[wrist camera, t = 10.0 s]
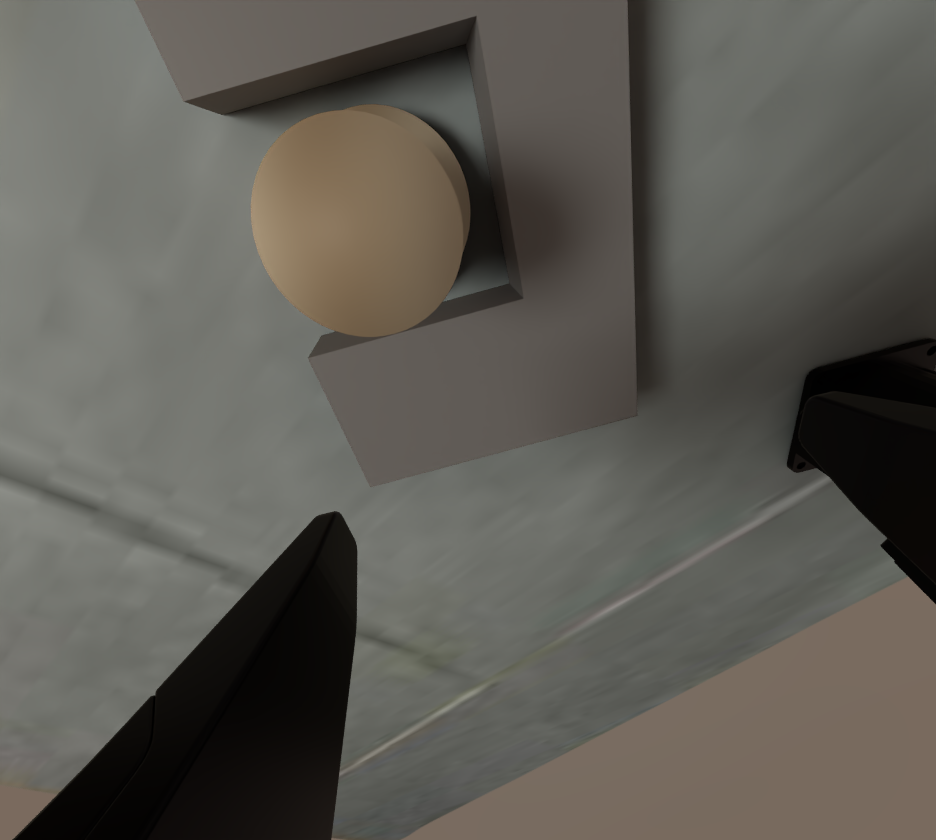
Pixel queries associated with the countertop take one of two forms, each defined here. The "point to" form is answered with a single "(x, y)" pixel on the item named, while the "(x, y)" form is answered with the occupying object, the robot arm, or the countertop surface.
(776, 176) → the countertop surface
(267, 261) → the spool
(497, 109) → the gray u-shaped block
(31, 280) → the countertop surface
